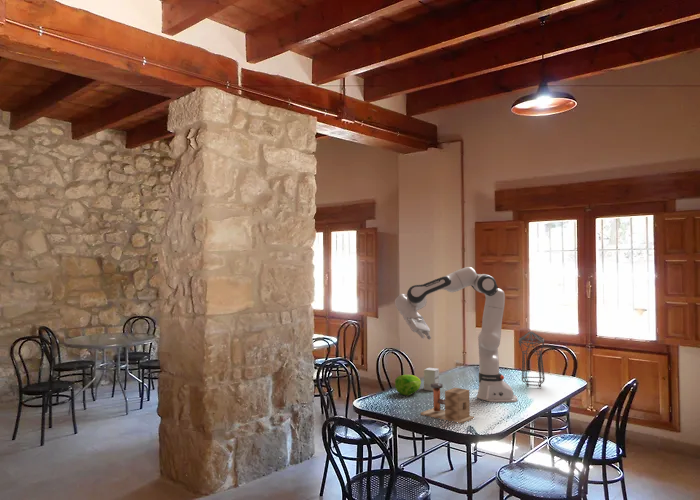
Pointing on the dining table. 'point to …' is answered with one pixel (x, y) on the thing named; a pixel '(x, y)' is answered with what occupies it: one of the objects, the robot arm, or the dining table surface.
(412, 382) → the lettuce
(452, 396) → the light wood block structure
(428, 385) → the supplement box
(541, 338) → the geometric lantern
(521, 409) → the dining table surface
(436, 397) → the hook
